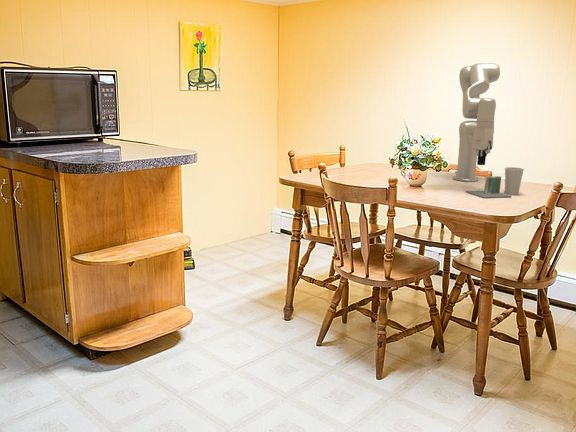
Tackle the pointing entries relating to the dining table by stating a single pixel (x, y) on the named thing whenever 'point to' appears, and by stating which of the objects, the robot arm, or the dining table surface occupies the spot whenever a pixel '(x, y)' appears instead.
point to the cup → (513, 180)
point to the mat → (482, 195)
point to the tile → (492, 185)
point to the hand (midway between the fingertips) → (481, 164)
